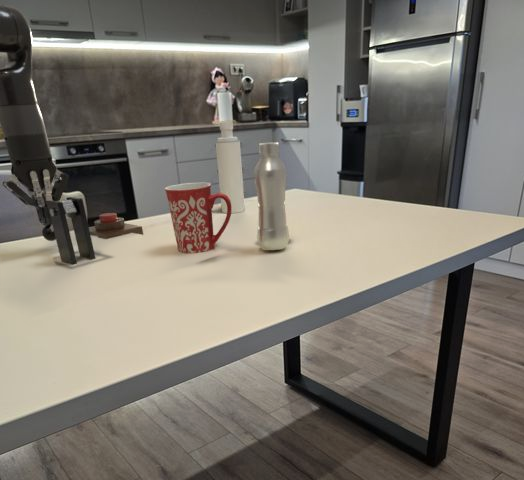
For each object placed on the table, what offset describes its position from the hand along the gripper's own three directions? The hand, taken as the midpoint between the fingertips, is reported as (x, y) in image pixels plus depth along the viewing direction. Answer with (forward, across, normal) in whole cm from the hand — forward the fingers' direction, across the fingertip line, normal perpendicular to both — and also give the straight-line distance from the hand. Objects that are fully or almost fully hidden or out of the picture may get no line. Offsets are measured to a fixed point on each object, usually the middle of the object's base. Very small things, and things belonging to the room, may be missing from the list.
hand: (48, 225), depth 98 cm
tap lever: (0, 0, +6) cm, 6 cm away
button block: (+7, -18, -7) cm, 21 cm away
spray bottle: (+7, -55, -2) cm, 55 cm away
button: (+3, -18, -7) cm, 20 cm away
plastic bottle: (+8, -29, +36) cm, 46 cm away
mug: (+7, -19, +26) cm, 33 cm away
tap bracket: (+7, 0, +10) cm, 12 cm away
